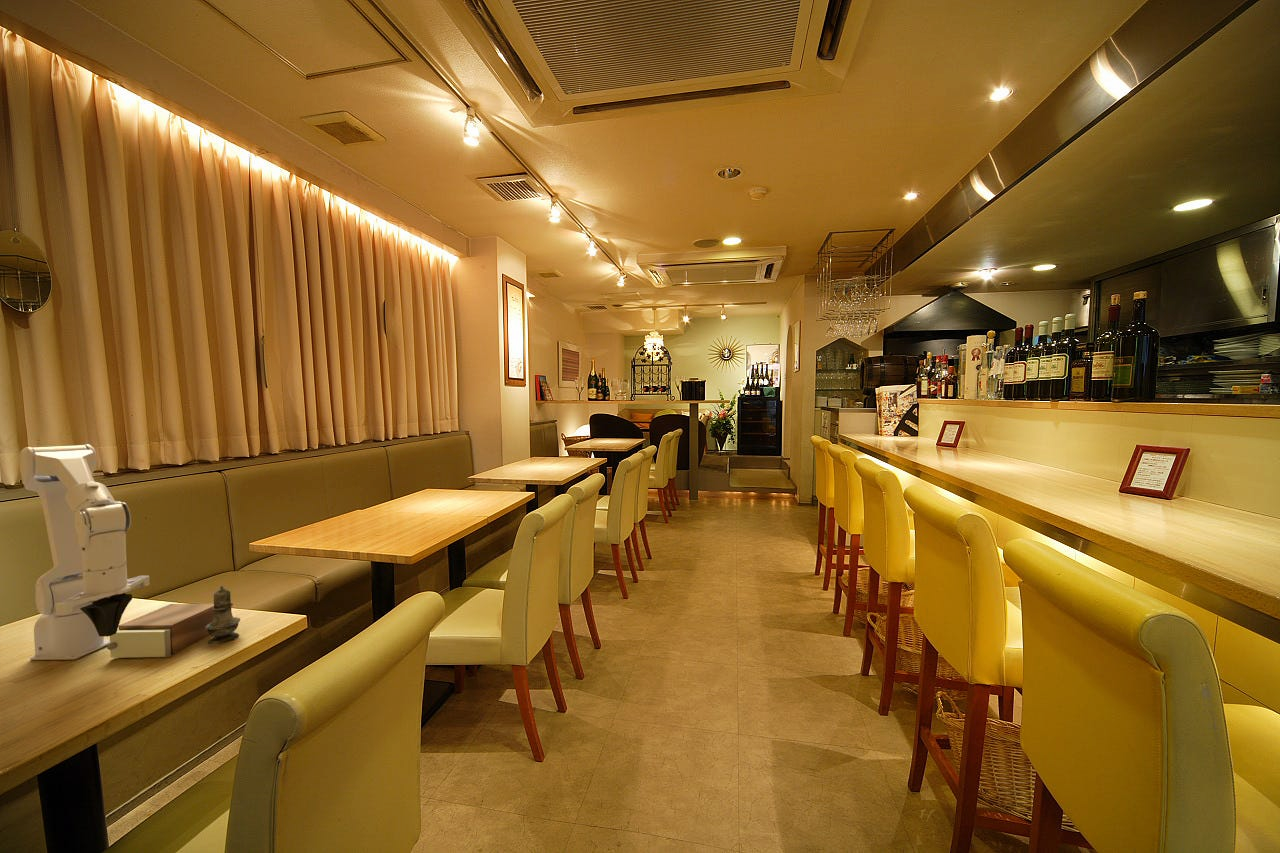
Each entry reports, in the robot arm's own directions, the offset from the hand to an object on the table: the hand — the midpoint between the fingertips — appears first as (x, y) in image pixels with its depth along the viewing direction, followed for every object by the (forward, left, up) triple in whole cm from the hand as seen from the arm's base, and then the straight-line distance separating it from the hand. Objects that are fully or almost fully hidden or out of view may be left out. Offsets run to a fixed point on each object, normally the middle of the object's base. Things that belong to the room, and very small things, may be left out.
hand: (107, 634), depth 93 cm
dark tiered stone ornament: (+12, +12, -7) cm, 18 cm away
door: (+2, +4, -7) cm, 8 cm away
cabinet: (+2, +11, -7) cm, 13 cm away
